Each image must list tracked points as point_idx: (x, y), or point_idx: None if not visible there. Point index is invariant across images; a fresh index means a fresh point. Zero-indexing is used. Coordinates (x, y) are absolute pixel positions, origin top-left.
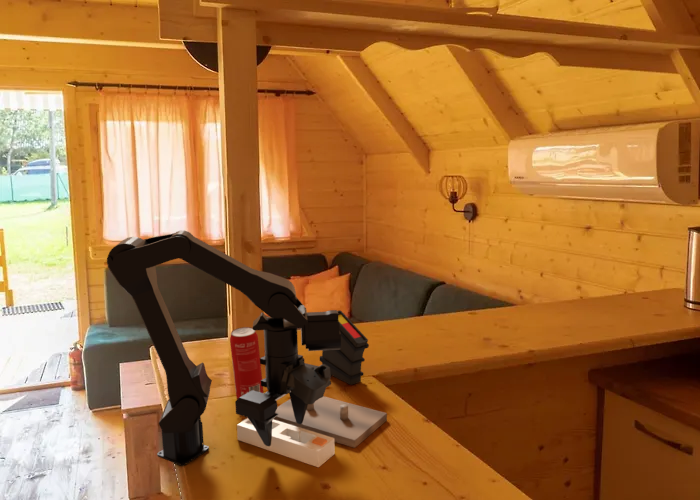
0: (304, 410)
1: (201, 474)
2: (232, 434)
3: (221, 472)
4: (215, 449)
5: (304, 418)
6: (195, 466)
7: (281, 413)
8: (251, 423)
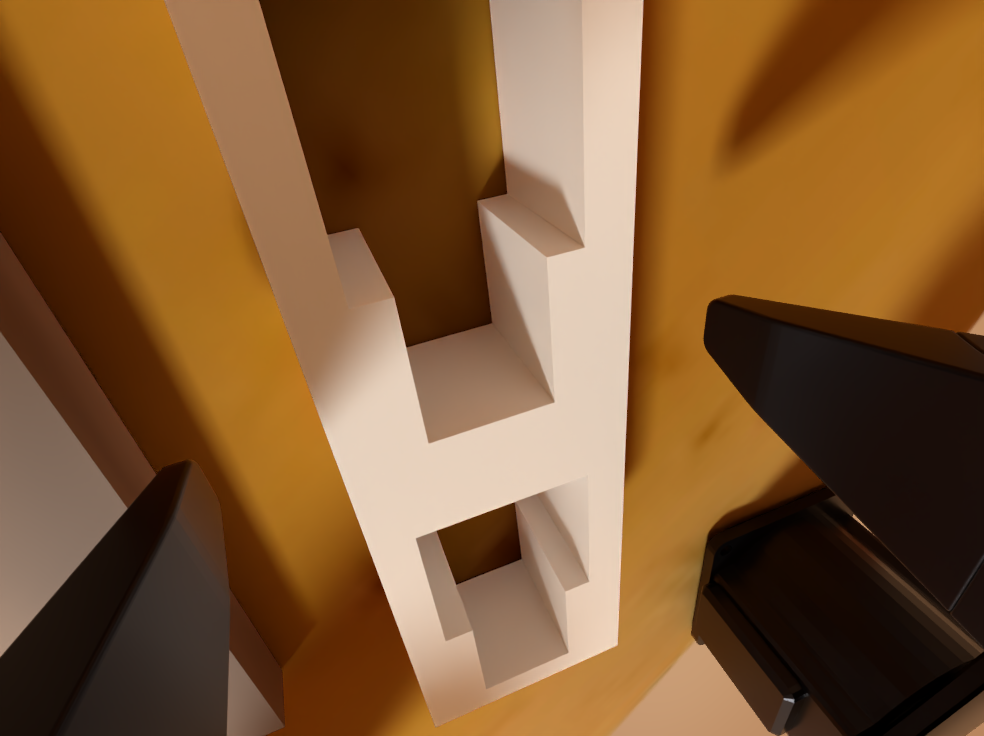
0: (100, 603)
1: None
2: None
3: None
4: (688, 527)
5: (5, 577)
6: None
7: None
8: (488, 644)
